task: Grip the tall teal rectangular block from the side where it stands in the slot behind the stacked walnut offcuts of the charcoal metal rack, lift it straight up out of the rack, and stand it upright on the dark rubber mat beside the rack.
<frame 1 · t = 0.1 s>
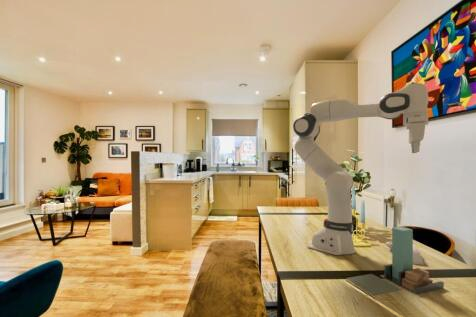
hand: (415, 152, 105), 48 cm above the table, tool pointing down, fingers open, 8 cm apart
rack: (402, 280, 88), on the table
rubber mat: (372, 286, 84), on the table
upper walnut offcut: (417, 279, 82), point 3 cm above the table, touching lower walnut offcut
teal rectangular block: (402, 278, 88), point 1 cm above the table, touching rack
spoon rest: (405, 257, 112), on the table
lower walnut offcut: (417, 286, 82), point 1 cm above the table, touching rack, upper walnut offcut
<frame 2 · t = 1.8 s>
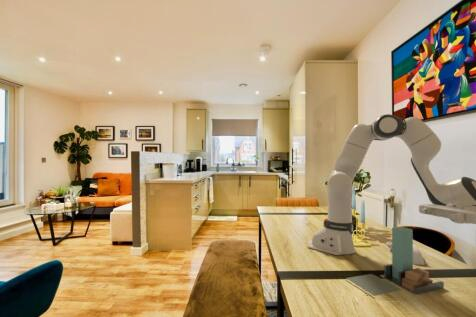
hand: (435, 214, 91), 24 cm above the table, tool horizontal, fingers open, 8 cm apart
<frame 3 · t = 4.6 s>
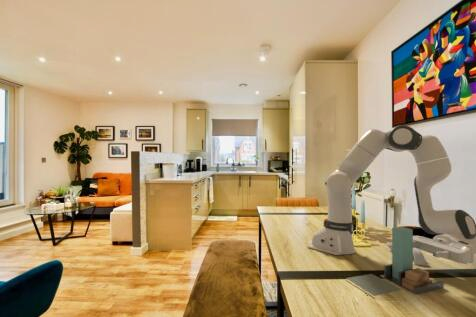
hand: (421, 249, 90), 11 cm above the table, tool horizontal, fingers open, 8 cm apart
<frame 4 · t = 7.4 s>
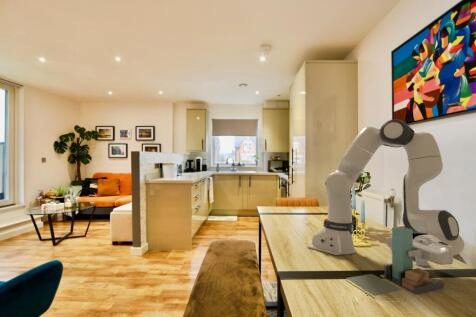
hand: (400, 250, 88), 11 cm above the table, tool horizontal, fingers closed on teal rectangular block, 4 cm apart
teal rectangular block: (402, 278, 88), point 1 cm above the table, touching gripper, rack
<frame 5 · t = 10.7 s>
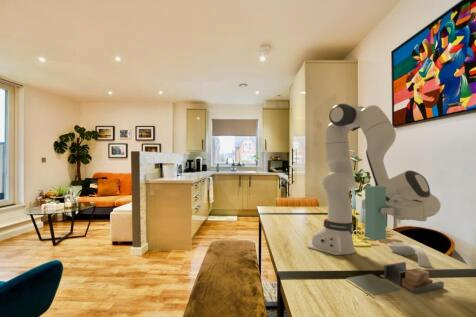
hand: (373, 209, 84), 27 cm above the table, tool horizontal, fingers closed on teal rectangular block, 4 cm apart
teal rectangular block: (375, 237, 84), point 17 cm above the table, touching gripper
when the fingers open (12 cm above the table, at t = 14.4 s): teal rectangular block drops 1 cm, resting on rubber mat.
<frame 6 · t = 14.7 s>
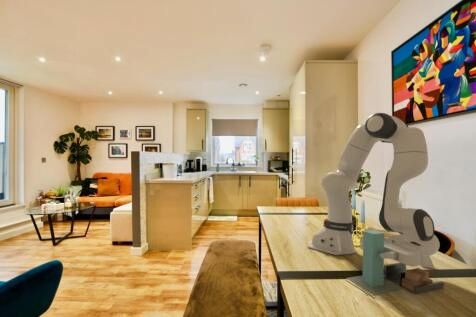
hand: (370, 251, 84), 12 cm above the table, tool horizontal, fingers open, 6 cm apart
teal rectangular block: (372, 283, 84), point 1 cm above the table, touching rubber mat
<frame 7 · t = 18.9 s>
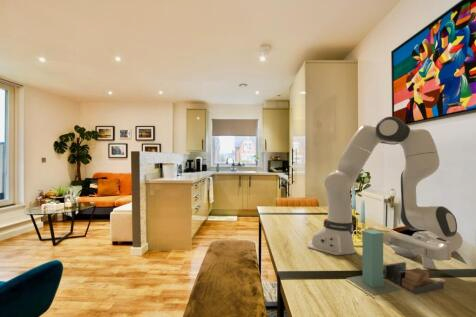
hand: (398, 247, 88), 12 cm above the table, tool horizontal, fingers open, 8 cm apart
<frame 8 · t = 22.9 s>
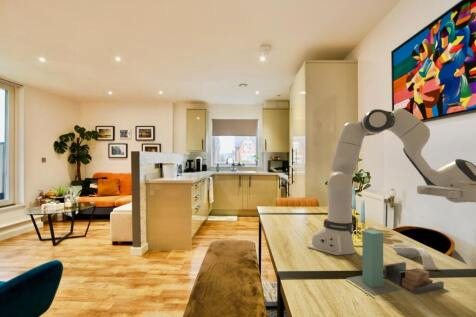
hand: (433, 192, 93), 32 cm above the table, tool horizontal, fingers open, 8 cm apart
at the end: teal rectangular block inside the target area on the rubber mat (0.0 cm from its centre), point 1.0 cm above the rubber mat's base; teal rectangular block tilted 0°; the gripper is holding nothing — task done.
